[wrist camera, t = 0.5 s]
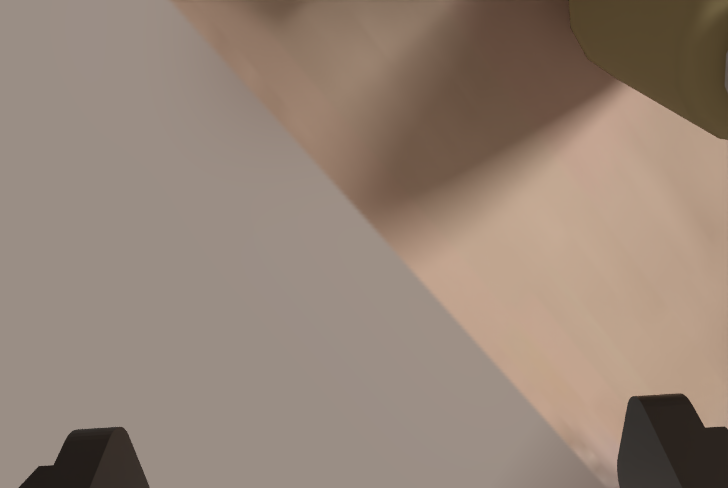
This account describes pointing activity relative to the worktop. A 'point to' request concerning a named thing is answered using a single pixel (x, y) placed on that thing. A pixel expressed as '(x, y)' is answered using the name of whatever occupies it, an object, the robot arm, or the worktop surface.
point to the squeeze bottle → (662, 52)
